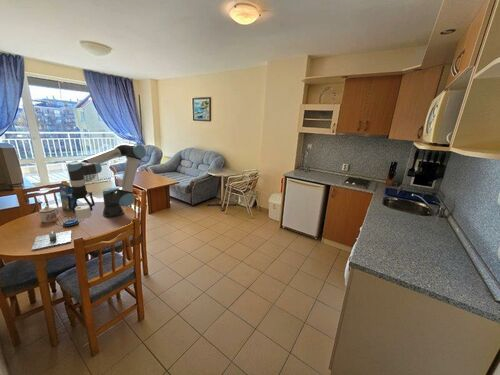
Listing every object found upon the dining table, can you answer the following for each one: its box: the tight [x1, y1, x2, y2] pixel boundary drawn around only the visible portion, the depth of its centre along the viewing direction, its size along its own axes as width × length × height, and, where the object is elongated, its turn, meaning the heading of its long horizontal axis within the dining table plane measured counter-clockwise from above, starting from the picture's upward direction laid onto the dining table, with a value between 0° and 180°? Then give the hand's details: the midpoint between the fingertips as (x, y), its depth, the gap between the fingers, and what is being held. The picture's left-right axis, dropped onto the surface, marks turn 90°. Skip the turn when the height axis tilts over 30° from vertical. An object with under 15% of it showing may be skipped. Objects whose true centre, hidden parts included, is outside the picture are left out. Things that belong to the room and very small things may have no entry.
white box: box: [76, 204, 91, 220], centre depth 147 cm, size 7×7×8 cm
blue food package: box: [58, 180, 78, 212], centre depth 185 cm, size 6×12×25 cm, turn 65°
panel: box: [31, 230, 72, 251], centre depth 137 cm, size 18×18×6 cm
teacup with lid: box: [38, 205, 59, 223], centre depth 164 cm, size 12×9×12 cm
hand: (83, 216), depth 148 cm, fingers closed on white box, 7 cm apart
